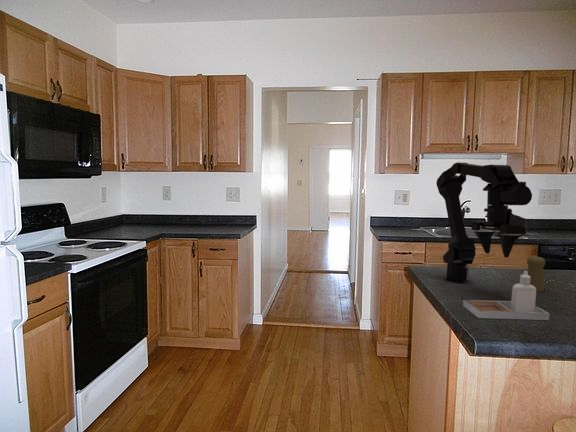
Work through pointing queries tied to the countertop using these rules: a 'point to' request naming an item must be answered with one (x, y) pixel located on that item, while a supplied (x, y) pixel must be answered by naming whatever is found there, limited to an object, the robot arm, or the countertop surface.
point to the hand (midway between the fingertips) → (496, 255)
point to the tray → (501, 310)
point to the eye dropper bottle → (523, 295)
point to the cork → (536, 272)
